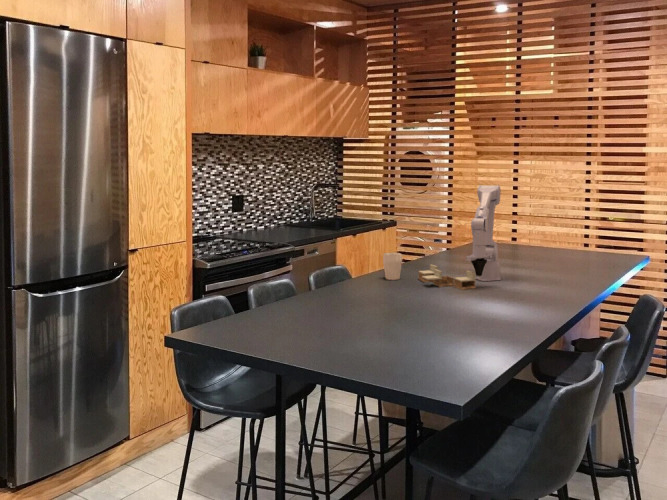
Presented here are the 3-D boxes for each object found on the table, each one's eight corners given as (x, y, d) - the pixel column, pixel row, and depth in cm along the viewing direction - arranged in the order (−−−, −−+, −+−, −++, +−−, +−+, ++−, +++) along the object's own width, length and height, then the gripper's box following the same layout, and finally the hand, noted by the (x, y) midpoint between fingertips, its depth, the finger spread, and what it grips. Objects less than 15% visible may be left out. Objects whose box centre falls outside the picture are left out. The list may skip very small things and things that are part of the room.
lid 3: (468, 278, 300) (468, 270, 299) (475, 280, 293) (475, 272, 293) (454, 279, 298) (454, 271, 298) (460, 281, 292) (461, 273, 291)
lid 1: (431, 271, 319) (431, 264, 319) (437, 273, 312) (437, 266, 312) (418, 272, 317) (418, 265, 317) (424, 274, 311) (424, 267, 310)
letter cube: (428, 279, 317) (428, 273, 317) (432, 280, 315) (432, 274, 314) (423, 280, 316) (423, 274, 316) (427, 281, 313) (427, 275, 313)
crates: (447, 277, 321) (447, 270, 321) (475, 288, 294) (475, 280, 293) (418, 279, 318) (418, 272, 317) (443, 290, 290) (443, 283, 290)
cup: (401, 280, 316) (400, 255, 314) (382, 280, 318) (381, 255, 316) (403, 277, 325) (402, 252, 323) (384, 276, 327) (384, 252, 325)
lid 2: (435, 276, 306) (435, 269, 305) (442, 278, 299) (442, 271, 299) (421, 277, 304) (421, 269, 303) (427, 279, 297) (427, 272, 297)
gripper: (483, 242, 303) (482, 272, 305) (460, 245, 294) (460, 276, 296) (495, 244, 297) (495, 274, 299) (473, 247, 289) (472, 278, 291)
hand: (478, 275), depth 297 cm, fingers closed
